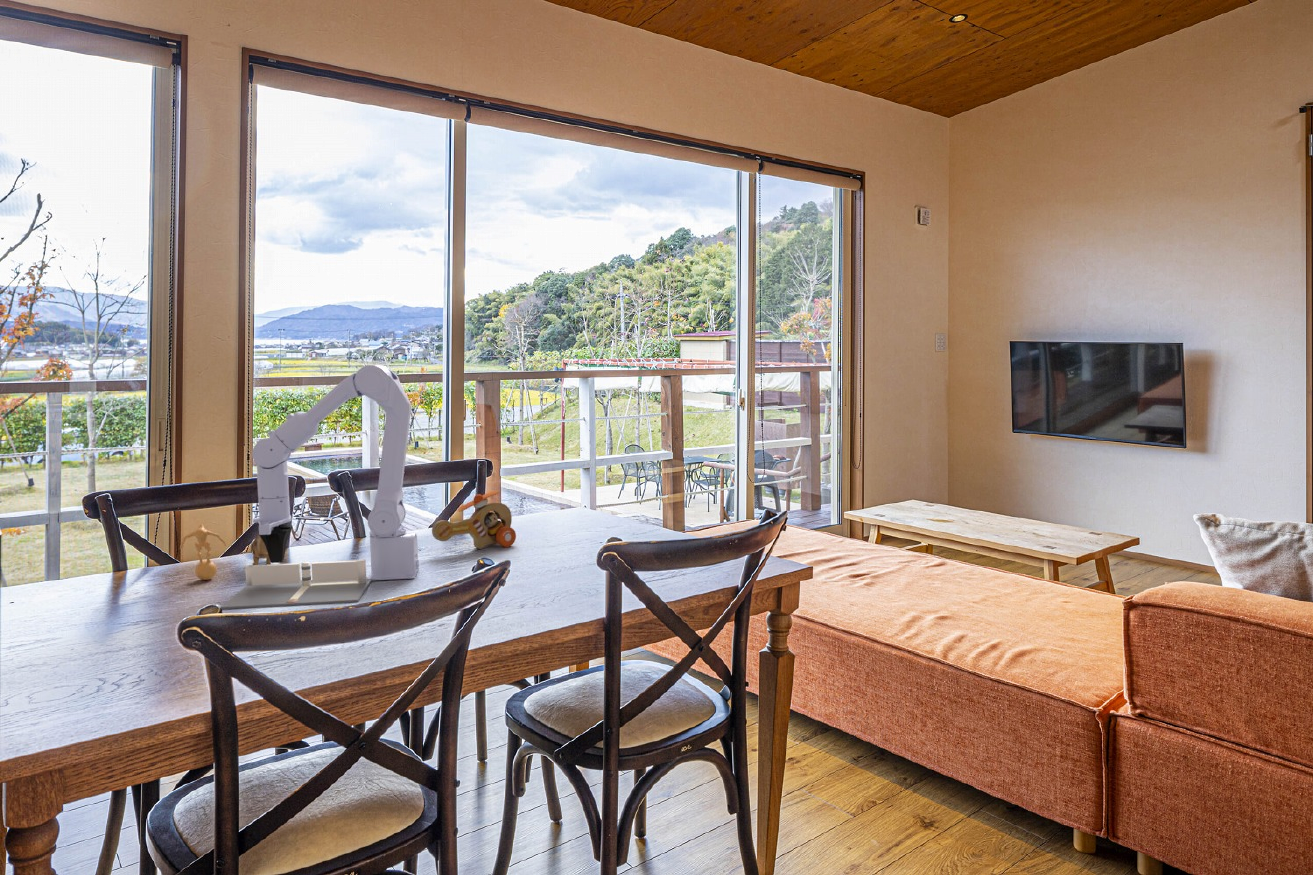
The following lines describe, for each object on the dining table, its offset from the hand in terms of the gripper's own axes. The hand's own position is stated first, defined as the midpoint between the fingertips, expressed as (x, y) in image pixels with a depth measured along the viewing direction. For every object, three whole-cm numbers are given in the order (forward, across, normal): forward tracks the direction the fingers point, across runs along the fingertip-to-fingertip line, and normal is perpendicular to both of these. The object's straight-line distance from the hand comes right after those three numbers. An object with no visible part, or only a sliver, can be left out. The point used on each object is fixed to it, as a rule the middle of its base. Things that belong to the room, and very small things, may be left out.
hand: (277, 561), depth 168 cm
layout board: (+4, +10, +7) cm, 13 cm away
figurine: (+4, -3, -15) cm, 16 cm away
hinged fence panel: (+3, +6, +1) cm, 7 cm away
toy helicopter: (+4, -21, +39) cm, 45 cm away
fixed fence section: (+4, +6, +12) cm, 14 cm away
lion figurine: (+4, -12, -6) cm, 15 cm away
